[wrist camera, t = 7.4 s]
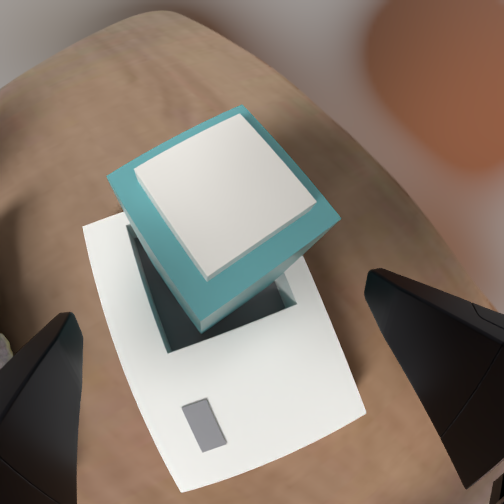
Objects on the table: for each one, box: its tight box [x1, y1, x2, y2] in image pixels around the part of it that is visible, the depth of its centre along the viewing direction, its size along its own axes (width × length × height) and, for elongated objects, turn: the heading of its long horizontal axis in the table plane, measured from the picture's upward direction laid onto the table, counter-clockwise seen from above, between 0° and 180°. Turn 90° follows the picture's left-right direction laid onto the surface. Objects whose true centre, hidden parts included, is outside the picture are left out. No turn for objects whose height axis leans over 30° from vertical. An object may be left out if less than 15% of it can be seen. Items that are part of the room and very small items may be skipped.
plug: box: [106, 105, 341, 334], centre depth 12 cm, size 4×4×10 cm
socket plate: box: [83, 212, 366, 493], centre depth 16 cm, size 14×10×3 cm
